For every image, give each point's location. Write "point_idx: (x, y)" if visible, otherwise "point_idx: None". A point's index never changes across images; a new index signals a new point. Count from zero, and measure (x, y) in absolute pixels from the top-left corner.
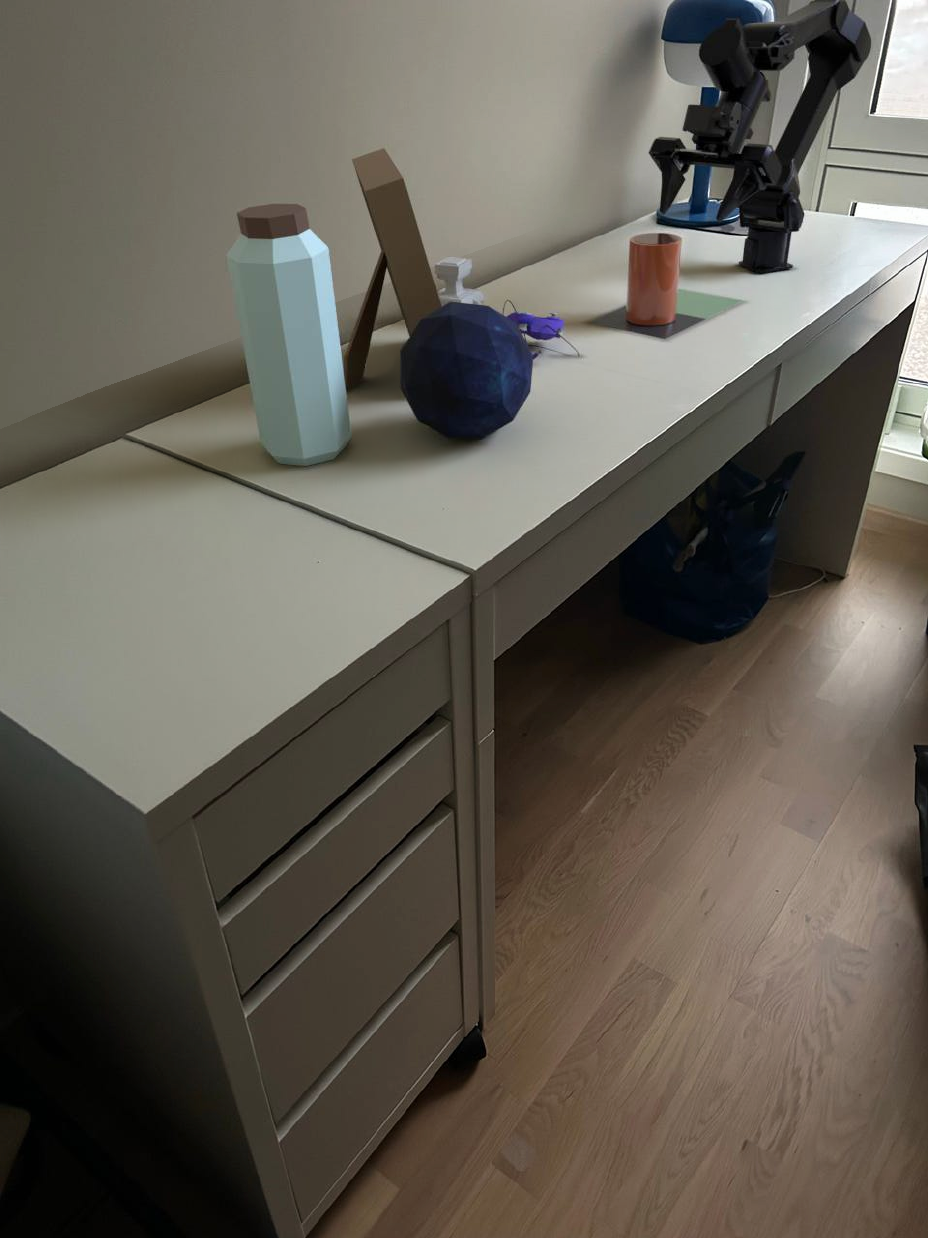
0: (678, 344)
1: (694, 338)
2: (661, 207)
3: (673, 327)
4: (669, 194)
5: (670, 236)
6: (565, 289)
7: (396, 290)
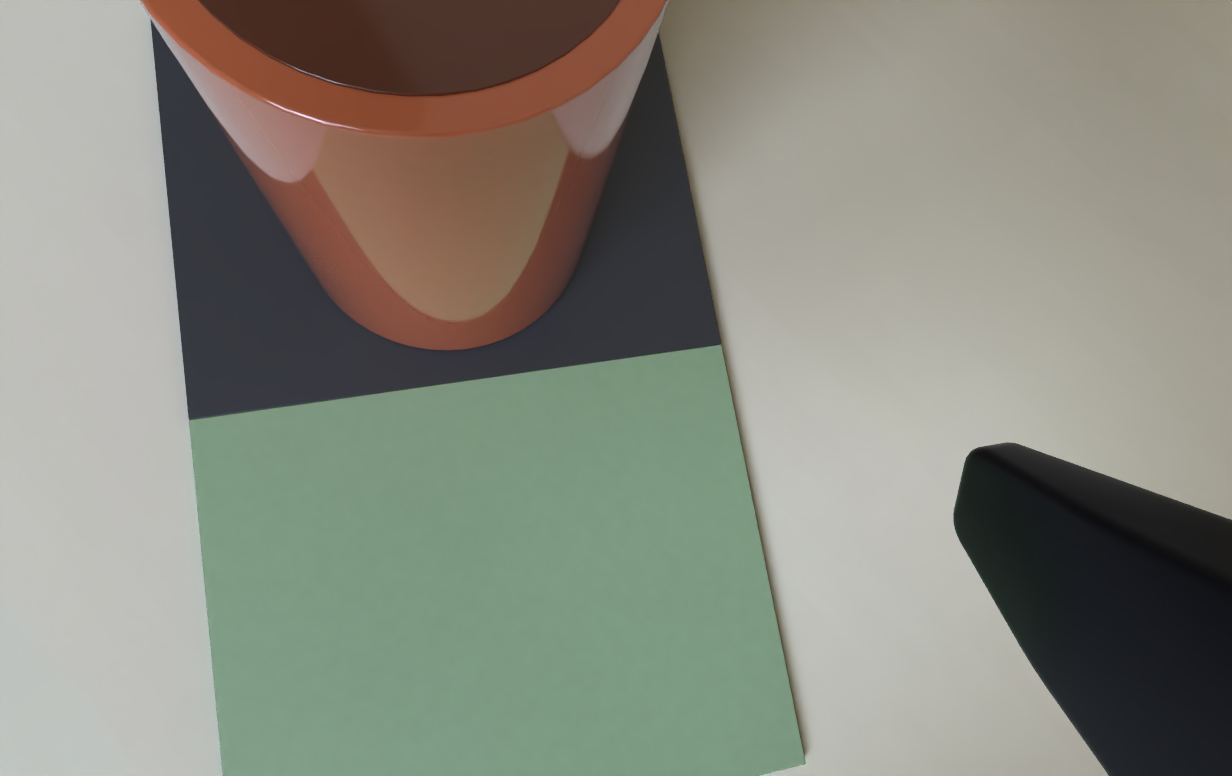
0: (48, 7)
1: (37, 131)
2: (1019, 453)
3: (239, 178)
4: (1206, 683)
5: (340, 24)
6: (1160, 328)
7: None
